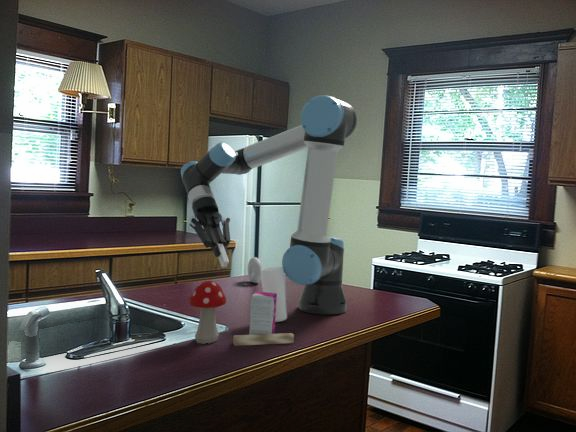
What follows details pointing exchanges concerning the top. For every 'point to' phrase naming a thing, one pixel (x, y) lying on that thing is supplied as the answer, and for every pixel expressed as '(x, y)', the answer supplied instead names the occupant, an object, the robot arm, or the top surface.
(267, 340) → the bar
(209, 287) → the decorative mushroom
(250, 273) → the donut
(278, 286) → the drinking glass
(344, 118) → the robot arm
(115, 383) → the top surface
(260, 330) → the supplement box
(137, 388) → the top surface
